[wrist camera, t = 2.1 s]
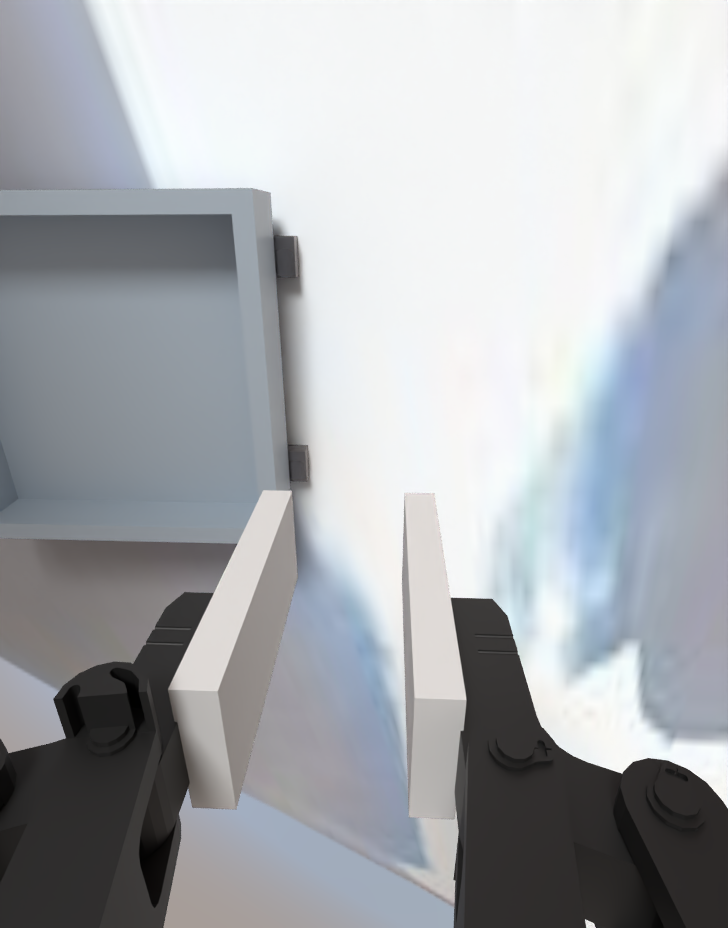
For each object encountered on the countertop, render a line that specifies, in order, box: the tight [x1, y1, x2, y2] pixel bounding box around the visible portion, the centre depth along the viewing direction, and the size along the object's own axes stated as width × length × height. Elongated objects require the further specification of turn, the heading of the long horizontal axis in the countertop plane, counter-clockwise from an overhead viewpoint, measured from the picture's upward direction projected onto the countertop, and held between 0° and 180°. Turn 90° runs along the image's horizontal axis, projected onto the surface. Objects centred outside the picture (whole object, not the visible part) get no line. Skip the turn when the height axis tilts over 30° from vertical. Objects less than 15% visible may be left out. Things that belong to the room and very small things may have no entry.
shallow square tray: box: [0, 188, 290, 544], centre depth 29 cm, size 18×18×4 cm
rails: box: [273, 236, 309, 481], centre depth 31 cm, size 14×31×2 cm, turn 90°
